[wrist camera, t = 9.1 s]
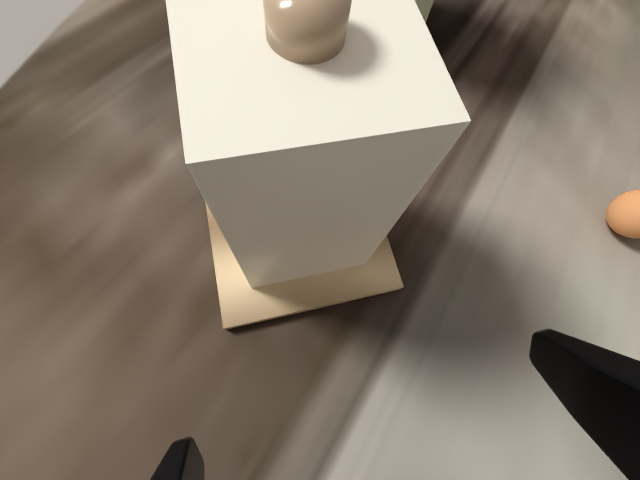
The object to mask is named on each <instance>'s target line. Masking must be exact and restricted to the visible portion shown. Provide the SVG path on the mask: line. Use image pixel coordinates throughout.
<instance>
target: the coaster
mask: <svg viewBox="0 0 640 480" xmlns="http://www.w3.org/2000/svg"><path fill="white" fill-rule="evenodd" d="M206 208H207V216H208V223H209V230H210V237H211V244H212V251H213V258H214V265H215V272H216V279H217V286H218V293H219V301H220V308H221V315H222V322H223V329H225V330H227V329H231V328H236V327H240V326H244V325H249V324H253V323H257V322H262V321H266V320H270V319H274V318H279V317H283V316H287V315H292V314H296V313H300V312H305V311H309V310H313V309H318V308H322V307H326V306H330V305H335V304H339V303H343V302H348V301H352V300H356V299H361V298H365V297H369V296H373V295H378V294H382V293H386V292H391V291H395V290H399V289H402V288H403V287H404V286H403V283H402V280H401V277H400V274H399V271H398V268H397V265H396V262H395V259H394V256H393V253H392V250H391V247H390V243H389V240H388V237H387V235H386V237H385V238H384V239H383V241H382V242H381V244H380V245H379V246H378V248H377V249H376V250H375V252H374V253H373V254H372V256H371V257H370V258H369V260H368V261H367V262H366V264H363V265H358V266H353V267H349V268H344V269H339V270H335V271H330V272H325V273H320V274H316V275H311V276H306V277H302V278H297V279H292V280H287V281H283V282H278V283H273V284H269V285H264V286H259V287H255V288H251V286H250V285H249V283H248V281H247V279H246V277H245V275H244V273H243V271H242V269H241V268H240V266H239V264H238V262H237V260H236V258H235V256H234V254H233V252H232V251H231V249H230V247H229V245H228V243H227V241H226V239H225V237H224V236H223V234H222V232H221V230H220V228H219V226H218V224H217V222H216V220H215V219H214V217H213V215H212V213H211V211H210V209H209V207H208V205H207V203H206Z"/></svg>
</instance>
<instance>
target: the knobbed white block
mask: <svg viewBox="0 0 640 480" xmlns="http://www.w3.org/2000/svg"><path fill="white" fill-rule="evenodd" d="M166 6H167V14H168V22H169V31H170V39H171V47H172V56H173V64H174V72H175V81H176V89H177V97H178V106H179V114H180V122H181V130H182V139H183V147H184V155H185V164H186V166H187V168H188V170H189V171H190V173H191V175H192V177H193V179H194V181H195V183H196V185H197V187H198V188H199V190H200V192H201V194H202V196H203V198H204V200H205V202H206V203H207V205H208V207H209V209H210V211H211V213H212V215H213V217H214V219H215V220H216V222H217V224H218V226H219V228H220V230H221V232H222V234H223V236H224V237H225V239H226V241H227V243H228V245H229V247H230V249H231V251H232V252H233V254H234V256H235V258H236V260H237V262H238V264H239V266H240V268H241V269H242V271H243V273H244V275H245V277H246V279H247V281H248V283H249V285H250V286H251V288H255V287H259V286H264V285H269V284H273V283H278V282H283V281H287V280H292V279H297V278H302V277H306V276H311V275H316V274H320V273H325V272H330V271H335V270H339V269H344V268H349V267H353V266H358V265H363V264H366V262H367V261H368V260H369V258H370V257H371V256H372V254H373V253H374V252H375V250H376V249H377V248H378V246H379V245H380V244H381V242H382V241H383V239H384V238H385V237H386V235H387V234H388V233H389V231H390V230H391V229H392V227H393V226H394V225H395V223H396V222H397V221H398V219H399V218H400V216H401V215H402V214H403V212H404V211H405V210H406V208H407V207H408V206H409V204H410V203H411V202H412V200H413V199H414V198H415V196H416V195H417V193H418V192H419V191H420V189H421V188H422V187H423V185H424V184H425V183H426V181H427V180H428V179H429V177H430V176H431V175H432V173H433V172H434V170H435V169H436V168H437V166H438V165H439V164H440V162H441V161H442V160H443V158H444V157H445V156H446V154H447V153H448V152H449V150H450V149H451V147H452V146H453V145H454V143H455V142H456V141H457V139H458V138H459V137H460V135H461V134H462V133H463V131H464V130H465V129H466V127H467V126H468V124H469V123H470V122H471V120H470V117H469V115H468V113H467V111H466V109H465V107H464V105H463V102H462V100H461V98H460V96H459V94H458V92H457V90H456V88H455V85H454V83H453V81H452V79H451V77H450V75H449V73H448V70H447V68H446V66H445V64H444V62H443V60H442V58H441V56H440V53H439V51H438V49H437V47H436V45H435V43H434V41H433V39H432V36H431V34H430V32H429V30H428V28H427V26H426V24H425V21H424V19H423V17H422V15H421V13H420V11H419V9H418V7H417V4H416V2H415V0H166Z"/></svg>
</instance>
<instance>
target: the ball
mask: <svg viewBox="0 0 640 480" xmlns="http://www.w3.org/2000/svg"><path fill="white" fill-rule="evenodd" d="M606 220H607V223H608V225H609V226H610V227H611V229H612V230H614V231H615V232H616V233H618V234H620V235H622V236H625V237H629V238H640V190H633V191H629V192H626V193H623V194H621V195H619V196H618V197H616V198H615V199H614V200H613V201H612V202H611V203H610V204H609V206H608V208H607V211H606Z"/></svg>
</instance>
